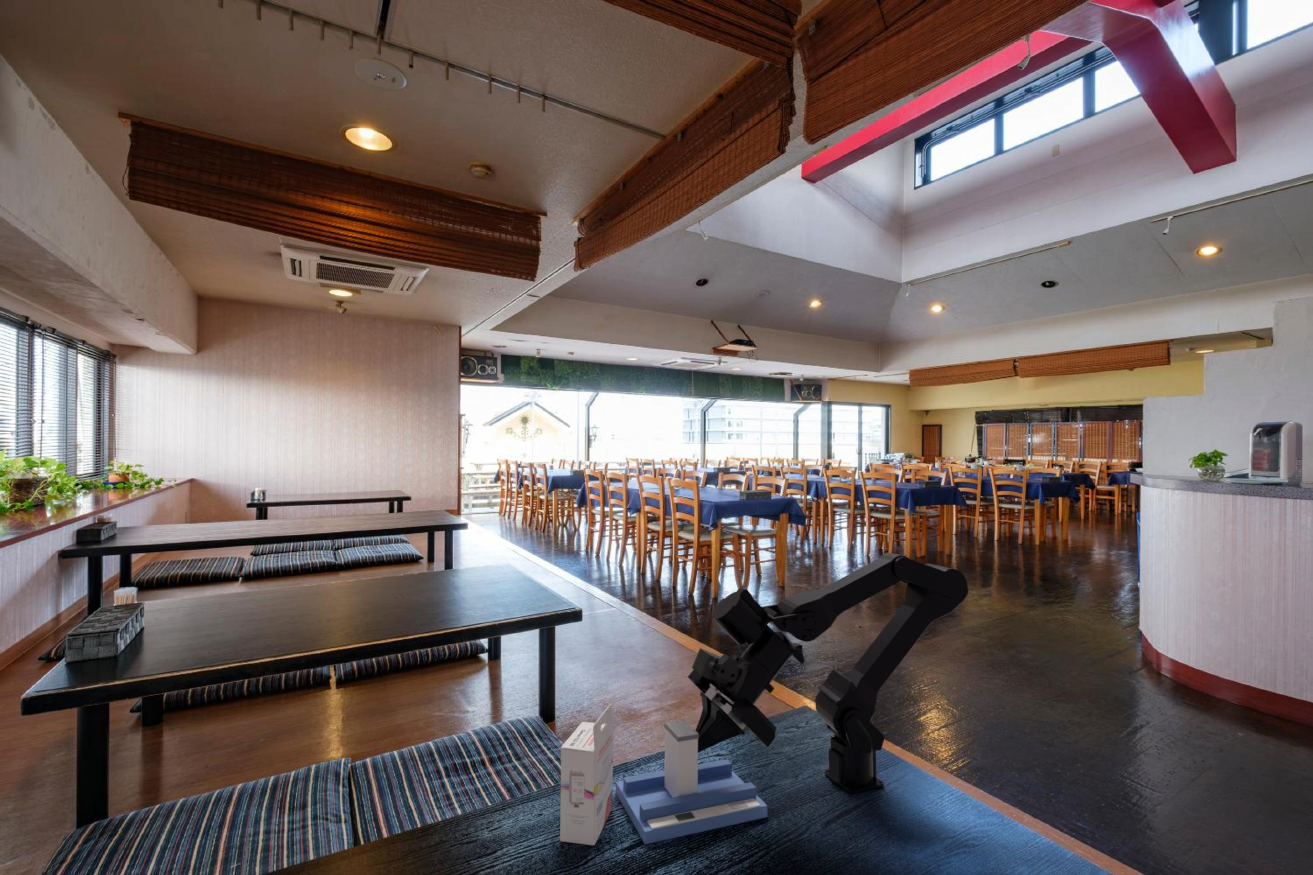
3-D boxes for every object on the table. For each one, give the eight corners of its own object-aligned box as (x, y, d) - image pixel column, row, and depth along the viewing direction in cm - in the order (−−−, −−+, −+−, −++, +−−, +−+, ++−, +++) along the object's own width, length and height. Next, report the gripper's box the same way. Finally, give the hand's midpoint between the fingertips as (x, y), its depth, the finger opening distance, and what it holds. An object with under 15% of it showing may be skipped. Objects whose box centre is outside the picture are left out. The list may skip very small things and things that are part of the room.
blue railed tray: (723, 772, 91) (723, 752, 91) (767, 816, 79) (767, 794, 79) (615, 792, 85) (616, 771, 85) (644, 844, 73) (645, 819, 73)
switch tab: (683, 782, 84) (684, 719, 85) (698, 800, 80) (698, 733, 80) (663, 786, 83) (664, 722, 84) (677, 805, 78) (677, 737, 79)
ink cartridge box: (579, 805, 81) (581, 698, 82) (613, 809, 80) (614, 701, 81) (557, 842, 73) (560, 722, 74) (594, 847, 72) (596, 726, 73)
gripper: (699, 616, 95) (635, 692, 90) (757, 647, 77) (681, 743, 72) (741, 660, 97) (680, 737, 92) (806, 700, 79) (735, 797, 75)
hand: (691, 750), depth 83 cm, fingers closed, pressing on switch tab
